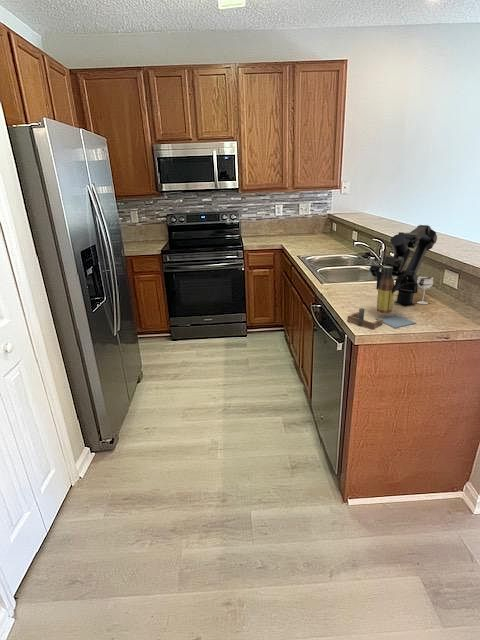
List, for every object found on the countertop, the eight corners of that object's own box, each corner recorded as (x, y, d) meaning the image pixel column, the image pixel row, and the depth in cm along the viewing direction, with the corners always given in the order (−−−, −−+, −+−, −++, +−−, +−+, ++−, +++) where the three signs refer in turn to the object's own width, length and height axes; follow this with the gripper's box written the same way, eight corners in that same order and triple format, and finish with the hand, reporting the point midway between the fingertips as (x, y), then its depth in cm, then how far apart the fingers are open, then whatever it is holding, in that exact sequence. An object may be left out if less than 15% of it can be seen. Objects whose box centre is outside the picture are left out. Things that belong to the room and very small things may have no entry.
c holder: (356, 317, 159) (358, 302, 156) (382, 324, 150) (384, 308, 148) (346, 322, 154) (347, 306, 152) (372, 330, 146) (374, 313, 143)
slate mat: (395, 315, 160) (395, 314, 159) (415, 323, 150) (415, 322, 150) (375, 319, 156) (375, 318, 156) (394, 328, 146) (395, 327, 146)
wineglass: (432, 305, 169) (435, 279, 165) (416, 304, 171) (419, 279, 167) (428, 300, 175) (431, 276, 171) (413, 300, 177) (416, 276, 173)
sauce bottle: (387, 308, 160) (393, 263, 152) (394, 313, 154) (400, 267, 146) (373, 309, 159) (378, 264, 152) (379, 314, 154) (384, 268, 146)
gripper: (373, 245, 155) (358, 276, 153) (418, 251, 143) (402, 285, 140) (380, 260, 163) (365, 290, 161) (423, 267, 151) (408, 299, 148)
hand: (384, 290), depth 152 cm, fingers closed on sauce bottle, 6 cm apart
